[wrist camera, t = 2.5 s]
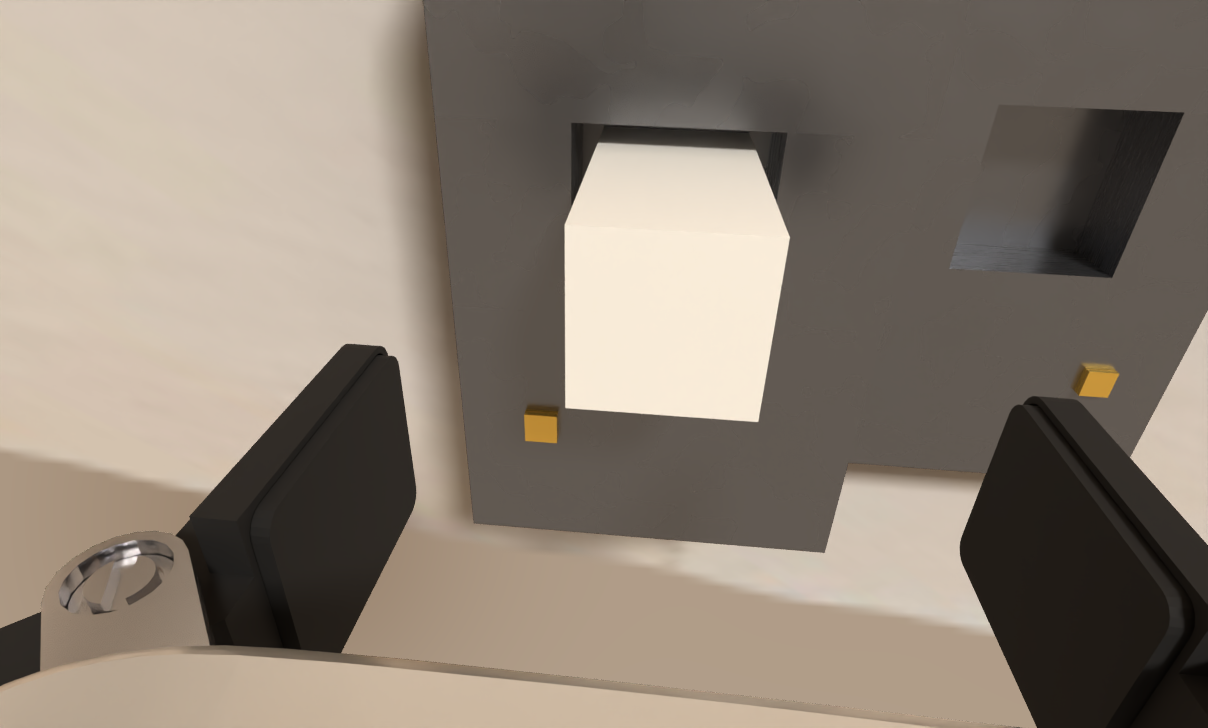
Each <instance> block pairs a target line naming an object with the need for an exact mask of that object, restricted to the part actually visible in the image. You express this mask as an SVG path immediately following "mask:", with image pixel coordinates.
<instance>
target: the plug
mask: <svg viewBox="0 0 1208 728" xmlns="http://www.w3.org/2000/svg"><path fill="white" fill-rule="evenodd" d="M789 240H790V236H789V234H788V231H787V229H786V226H785V224H784V221H783V218H782V216H781V213H780V211H779V208H778V205H777V203H776V200H775V198H774V195H773V193H772V190H771V187H770V185H769V182H768V180H767V177H766V174H765V172H764V169H763V167H762V164H761V162H760V159H759V156H758V154H757V151H756V149H755V146H754V143H753V141H752V138H751V136H750V133H733V132H711V131H689V130H668V129H646V128H625V127H604V129H603V131H602V134H601V136H600V139H599V141H598V144H597V146H596V149H595V151H594V153H593V156H592V158H591V161H590V163H589V166H588V168H587V171H586V173H585V176H584V178H583V181H582V183H581V186H580V188H579V191H578V193H577V196H576V198H575V200H574V203H573V205H572V208H571V210H570V213H569V215H568V218H567V220H566V223H565V408H571V409H585V410H599V411H612V412H626V413H640V414H654V415H667V416H681V417H695V418H709V419H722V420H736V421H750V422H758V420H759V414H760V409H761V403H762V397H763V391H764V385H765V379H766V374H767V368H768V362H769V356H770V350H771V345H772V339H773V333H774V327H775V321H776V315H777V310H778V304H779V298H780V292H781V286H782V281H783V275H784V269H785V263H786V257H787V251H788V246H789Z"/></svg>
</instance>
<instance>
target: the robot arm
mask: <svg viewBox="0 0 1208 728" xmlns="http://www.w3.org/2000/svg"><path fill="white" fill-rule="evenodd" d="M415 499H416V484H415V477H414V470H413V463H412V455H411V448H410V441H409V434H408V427H407V420H406V413H405V406H404V398H403V391H402V384H401V377H400V370H399V364H398V361H397V359H396V358H395V357H394V356H388V353H387V351H386V349H385V348H384V347H382V346H370V345H357V344H345V345H344V346H343V347H342V348H341V349H340V350H339V351H338V352H337V353H336V354H335V355H334V356H333V357H332V359H331V360H330V361H329V362H328V363H327V364H326V365H325V366H324V367H323V369H322V370H321V371H320V372H319V373H318V374H317V375H316V376H315V377H314V379H313V380H312V381H311V382H310V383H309V384H308V385H307V386H306V387H305V389H304V390H303V391H302V392H301V393H300V394H299V395H298V396H297V397H296V399H295V400H294V401H293V402H292V403H291V404H290V405H289V406H288V407H287V409H286V410H285V411H284V412H283V413H282V414H281V415H280V416H279V417H278V419H277V420H276V421H275V422H274V423H273V424H272V425H271V426H270V427H269V429H268V430H267V431H266V432H265V433H264V434H263V435H262V436H261V437H260V439H259V440H258V441H257V442H256V443H255V444H254V445H253V446H252V447H251V449H250V450H249V451H248V452H247V453H246V454H245V455H244V456H243V457H242V459H241V460H240V461H239V462H238V463H237V464H236V465H235V466H234V467H233V468H232V470H231V471H230V472H229V473H228V474H227V475H226V476H225V477H224V478H223V480H222V481H221V482H220V483H219V484H218V485H217V486H216V487H215V488H214V490H213V491H212V492H211V493H210V494H209V495H208V496H207V497H206V498H205V500H204V501H203V502H202V503H201V504H200V505H199V506H198V507H197V509H196V510H195V511H194V512H193V513H192V514H191V515H190V516H189V517H190V520H189V521H188V522H187V523H186V524H185V526H184V527H183V528H182V529H181V530H180V531H179V532H178V533H177V535H176V536H175V535H173V534H171V533H165V532H159V531H145V532H134V533H130V534H126V535H122V536H117V537H114V538H111V539H109V540H107V541H104V542H102V543H100V544H97V545H94V546H92V547H91V548H89V549H87V550H86V551H84V552H82V553H81V554H79V555H77V556H76V557H74V558H73V559H71V560H70V561H69V562H68V563H67V564H66V565H64V566H63V567H62V568H61V569H60V570H59V571H58V572H56V574H55V575H54V577H53V578H52V579H51V581H50V582H49V584H48V585H47V586H46V588H45V591H44V595H43V598H42V602H41V612H40V613H37V614H35V615H32V616H30V617H27V618H25V619H22V620H20V621H17V622H15V623H13V624H10V625H8V626H5V627H3V628H0V728H1020V727H1011V726H1002V725H994V724H985V723H976V722H968V721H960V720H950V719H942V718H934V717H925V716H917V715H908V714H900V713H891V712H883V711H874V710H866V709H857V708H849V707H840V706H830V705H822V704H813V703H804V702H795V701H786V700H778V699H769V698H760V697H751V696H742V695H733V694H724V693H715V692H706V691H697V690H688V689H678V688H670V687H661V686H651V685H643V684H633V683H625V682H616V681H606V680H598V679H587V678H579V677H569V676H560V675H550V674H540V673H532V672H522V671H512V670H503V669H494V668H484V667H475V666H465V665H456V664H446V663H437V662H428V661H418V660H409V659H398V658H387V657H375V656H364V655H353V654H342V653H341V652H342V650H343V648H344V646H345V644H346V642H347V640H348V638H349V636H350V634H351V632H352V630H353V628H354V626H355V624H356V622H357V620H358V618H359V616H360V614H361V612H362V610H363V608H364V606H365V604H366V602H367V600H368V598H369V596H370V594H371V592H372V590H373V588H374V586H375V584H376V582H377V580H378V578H379V576H380V574H381V572H382V570H383V568H384V566H385V564H386V563H387V561H388V559H389V556H390V554H391V552H392V550H393V549H394V547H395V545H396V542H397V541H398V538H399V537H400V535H401V533H402V531H403V529H404V527H405V525H406V523H407V521H408V519H409V517H410V515H411V513H412V511H413V508H414V504H415ZM960 556H961V561H962V564H963V566H964V568H965V570H966V573H967V575H968V577H969V579H970V581H971V584H972V586H973V588H974V590H975V592H976V595H977V597H978V599H979V601H980V603H981V606H982V608H983V610H984V612H985V614H986V617H987V619H988V621H989V623H990V625H991V628H992V630H993V632H994V634H995V636H996V638H997V640H998V643H999V645H1000V647H1001V649H1002V652H1003V654H1004V656H1005V658H1006V660H1007V663H1008V665H1009V667H1010V669H1011V671H1012V674H1013V676H1014V678H1015V680H1016V682H1017V684H1018V686H1019V689H1020V691H1021V693H1022V696H1023V698H1024V700H1025V702H1026V704H1027V706H1028V709H1029V711H1030V713H1031V715H1032V718H1033V720H1034V722H1035V724H1036V726H1037V728H1208V545H1207V544H1206V543H1205V542H1204V540H1203V539H1202V538H1201V537H1200V536H1199V535H1198V534H1197V533H1196V531H1195V530H1194V529H1193V528H1192V527H1191V526H1190V525H1189V524H1188V523H1187V521H1186V520H1185V519H1184V518H1183V517H1182V516H1181V515H1180V514H1179V512H1178V511H1177V510H1176V509H1175V508H1174V507H1173V506H1172V505H1171V503H1170V502H1169V501H1168V500H1167V499H1166V498H1165V497H1164V496H1163V494H1162V493H1161V492H1160V491H1159V490H1158V489H1157V488H1156V487H1155V485H1154V484H1153V483H1152V482H1151V481H1150V480H1149V479H1148V478H1147V476H1146V475H1145V474H1144V473H1143V472H1142V471H1141V470H1140V469H1139V468H1138V466H1137V465H1136V464H1135V463H1134V462H1133V461H1132V460H1131V459H1130V457H1129V456H1128V455H1127V454H1126V453H1125V452H1124V451H1123V450H1122V448H1121V447H1120V446H1119V445H1118V444H1117V443H1116V442H1115V441H1114V439H1113V438H1112V437H1111V436H1110V435H1109V434H1108V433H1107V432H1106V430H1105V429H1104V428H1103V427H1102V426H1101V425H1100V424H1099V423H1098V421H1097V420H1096V419H1095V418H1094V417H1093V416H1092V415H1091V414H1090V412H1089V411H1088V410H1087V409H1086V408H1085V407H1084V406H1083V405H1082V404H1081V403H1080V402H1079V401H1078V400H1075V399H1067V398H1054V397H1041V396H1032V397H1029V398H1028V399H1027V400H1026V401H1025V402H1024V404H1023V405H1019V404H1018V405H1016V406H1014V407H1013V408H1012V409H1011V411H1010V413H1009V416H1008V418H1007V421H1006V423H1005V426H1004V429H1003V431H1002V434H1001V436H1000V439H999V442H998V444H997V447H996V449H995V452H994V454H993V457H992V460H991V462H990V465H989V467H988V470H987V473H986V475H985V478H984V480H983V483H982V486H981V488H980V491H979V493H978V496H977V499H976V501H975V504H974V506H973V509H972V512H971V514H970V517H969V519H968V522H967V524H966V527H965V530H964V532H963V535H962V538H961V541H960Z"/></svg>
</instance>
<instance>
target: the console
mask: <svg viewBox="0 0 1208 728" xmlns="http://www.w3.org/2000/svg"><path fill="white" fill-rule="evenodd" d="M423 4H424V14H425V24H426V35H427V45H428V55H429V66H430V76H431V86H432V97H433V107H434V117H435V128H436V138H437V148H438V159H439V169H440V179H441V190H442V200H443V210H444V221H445V231H446V241H447V252H448V262H449V272H450V283H451V293H452V303H453V314H454V324H455V334H456V345H457V355H458V365H459V376H460V386H461V396H462V407H463V417H464V427H465V438H466V448H467V458H468V469H469V479H470V489H471V500H472V510H473V520H474V523H476V524H488V525H500V526H512V527H524V528H536V529H548V530H560V531H572V532H584V533H595V534H607V535H619V536H631V537H643V538H655V539H667V540H679V541H691V542H703V543H714V544H726V545H738V546H750V547H762V548H774V549H786V550H798V551H810V552H822V553H825V549H826V546H827V542H828V538H829V534H830V530H831V527H832V523H833V519H834V515H835V511H836V508H837V504H838V500H839V496H840V493H841V489H842V485H843V481H844V477H845V474H846V470H847V466H848V463H858V464H872V465H885V466H898V467H911V468H924V469H938V470H951V471H964V472H977V473H987V470H988V467H989V465H990V462H991V460H992V457H993V454H994V452H995V449H996V447H997V444H998V442H999V439H1000V436H1001V434H1002V431H1003V429H1004V426H1005V423H1006V421H1007V418H1008V416H1009V413H1010V411H1011V409H1012V408H1013V407H1014V406H1016V405H1018V404H1019V405H1023V404H1024V402H1025V401H1026V400H1027V399H1028V398H1029V397H1032V396H1041V397H1054V398H1067V399H1075V400H1078V401H1079V402H1080V403H1081V404H1082V405H1083V406H1084V407H1085V408H1086V409H1087V410H1088V411H1089V412H1090V414H1091V415H1092V416H1093V417H1094V418H1095V419H1096V420H1097V421H1098V423H1099V424H1100V425H1101V426H1102V427H1103V428H1104V429H1105V430H1106V432H1107V433H1108V434H1109V435H1110V436H1111V437H1112V438H1113V439H1114V441H1115V442H1116V443H1117V444H1118V445H1119V446H1120V447H1121V448H1122V450H1123V451H1124V452H1125V453H1126V454H1127V455H1128V456H1129V457H1130V456H1131V454H1132V453H1133V451H1134V449H1135V447H1136V445H1137V443H1138V441H1139V439H1140V437H1141V435H1142V434H1143V432H1144V430H1145V428H1146V426H1147V424H1148V422H1149V420H1150V418H1151V417H1152V415H1153V413H1154V411H1155V409H1156V407H1157V405H1158V403H1159V401H1160V400H1161V398H1162V396H1163V394H1164V392H1165V390H1166V388H1167V386H1168V384H1169V383H1170V381H1171V379H1172V377H1173V375H1174V373H1175V371H1176V369H1177V367H1178V365H1179V364H1180V362H1181V360H1182V358H1183V356H1184V354H1185V352H1186V350H1187V348H1188V347H1189V345H1190V343H1191V341H1192V339H1193V337H1194V335H1195V333H1196V331H1197V330H1198V328H1199V326H1200V324H1201V322H1202V320H1203V318H1204V316H1205V314H1206V313H1207V311H1208V0H423ZM604 127H625V128H646V129H668V130H689V131H711V132H733V133H750V136H751V138H752V141H753V143H754V146H755V149H756V151H757V154H758V156H759V159H760V162H761V164H762V167H763V169H764V172H765V174H766V177H767V180H768V182H769V185H770V187H771V190H772V193H773V195H774V198H775V200H776V203H777V205H778V208H779V211H780V213H781V216H782V218H783V221H784V224H785V226H786V229H787V231H788V234H789V236H790V240H789V246H788V251H787V257H786V263H785V269H784V275H783V281H782V286H781V292H780V298H779V304H778V310H777V315H776V321H775V327H774V333H773V339H772V345H771V350H770V356H769V362H768V368H767V374H766V379H765V385H764V391H763V397H762V403H761V409H760V414H759V420H758V422H750V421H736V420H722V419H709V418H695V417H681V416H667V415H654V414H640V413H626V412H612V411H599V410H585V409H571V408H565V223H566V220H567V218H568V215H569V213H570V210H571V208H572V205H573V203H574V200H575V198H576V196H577V193H578V191H579V188H580V186H581V183H582V181H583V178H584V176H585V173H586V171H587V168H588V166H589V163H590V161H591V158H592V156H593V153H594V151H595V149H596V146H597V144H598V141H599V139H600V136H601V134H602V131H603V129H604Z"/></svg>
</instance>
